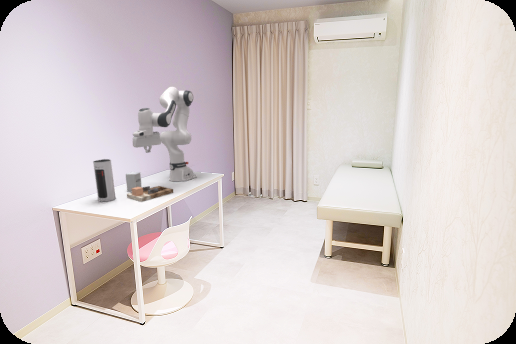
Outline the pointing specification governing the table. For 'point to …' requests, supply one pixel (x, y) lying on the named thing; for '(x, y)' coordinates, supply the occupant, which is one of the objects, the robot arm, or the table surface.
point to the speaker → (104, 180)
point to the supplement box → (133, 180)
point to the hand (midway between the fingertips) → (148, 152)
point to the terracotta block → (137, 191)
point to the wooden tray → (151, 193)
